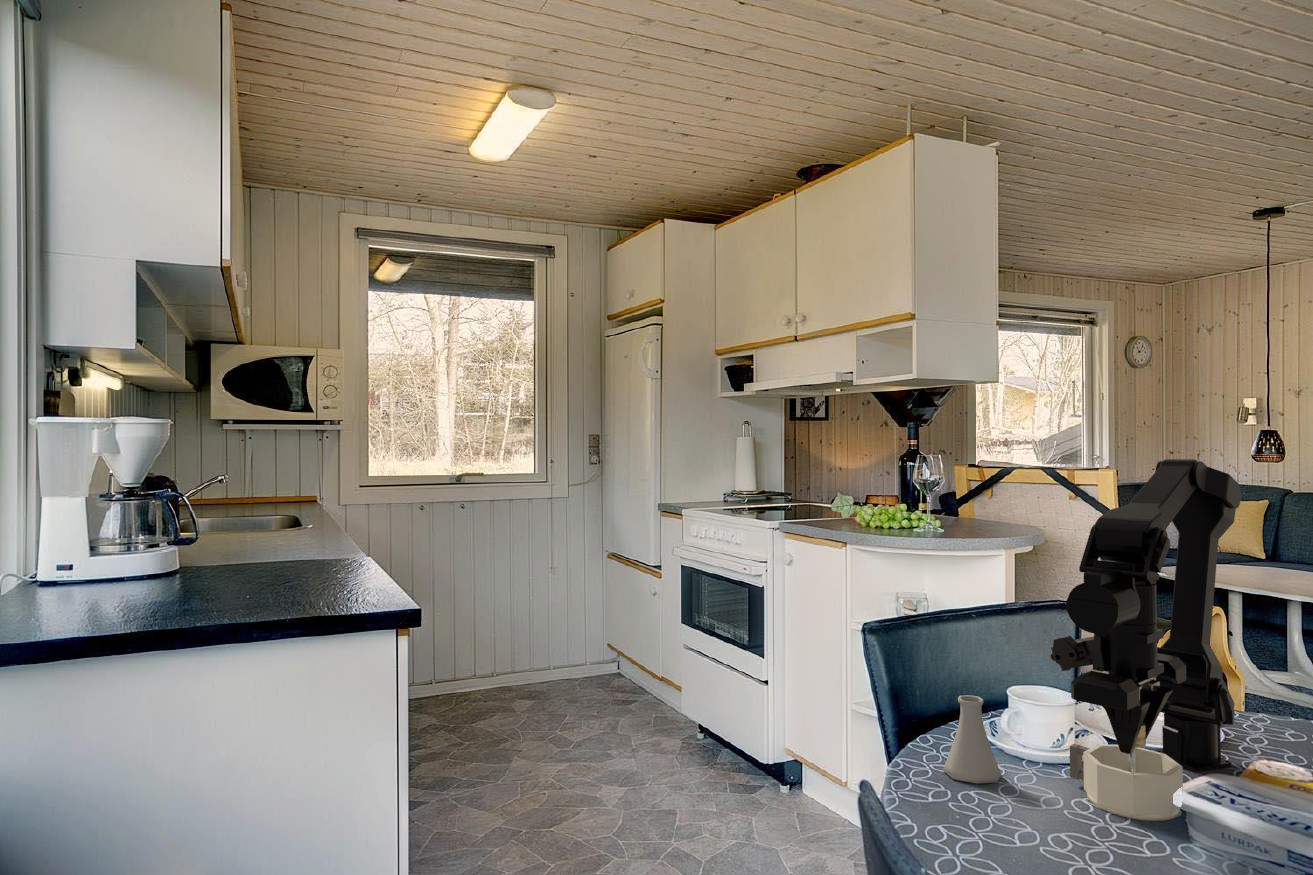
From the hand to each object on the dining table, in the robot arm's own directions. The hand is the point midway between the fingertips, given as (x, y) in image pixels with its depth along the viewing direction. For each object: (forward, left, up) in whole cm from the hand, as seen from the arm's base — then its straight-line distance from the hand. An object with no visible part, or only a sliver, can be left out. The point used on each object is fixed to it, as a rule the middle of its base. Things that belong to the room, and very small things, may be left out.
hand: (1131, 749), depth 101 cm
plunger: (0, 0, -6) cm, 6 cm away
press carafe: (0, -1, -6) cm, 6 cm away
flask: (+13, -13, -7) cm, 20 cm away
